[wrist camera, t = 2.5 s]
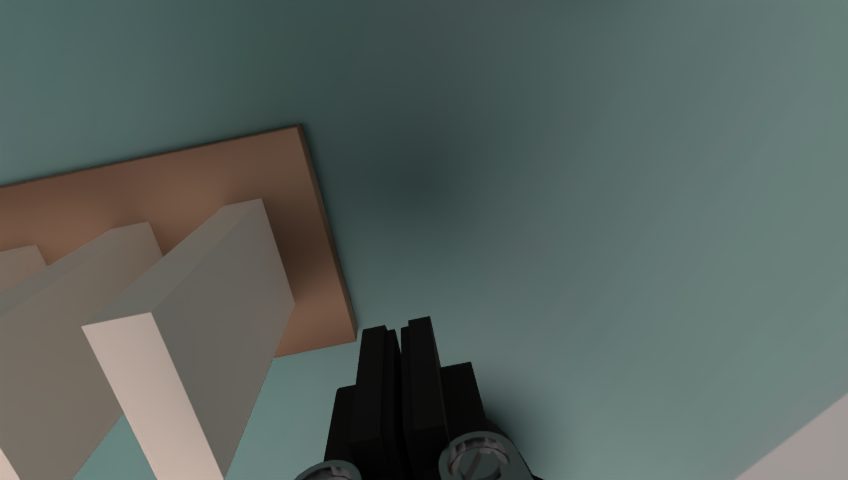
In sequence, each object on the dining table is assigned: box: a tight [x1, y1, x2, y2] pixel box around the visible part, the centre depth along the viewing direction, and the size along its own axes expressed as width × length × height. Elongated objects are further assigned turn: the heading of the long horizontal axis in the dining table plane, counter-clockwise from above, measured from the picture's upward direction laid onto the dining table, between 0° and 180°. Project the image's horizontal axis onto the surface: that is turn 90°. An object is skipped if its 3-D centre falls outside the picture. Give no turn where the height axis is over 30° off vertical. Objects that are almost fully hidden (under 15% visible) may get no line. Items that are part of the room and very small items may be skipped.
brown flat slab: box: [0, 124, 358, 358], centre depth 22 cm, size 10×26×1 cm, turn 101°
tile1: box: [81, 198, 295, 480], centre depth 17 cm, size 2×5×10 cm, turn 11°
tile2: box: [0, 221, 163, 480], centre depth 17 cm, size 2×5×10 cm, turn 11°
